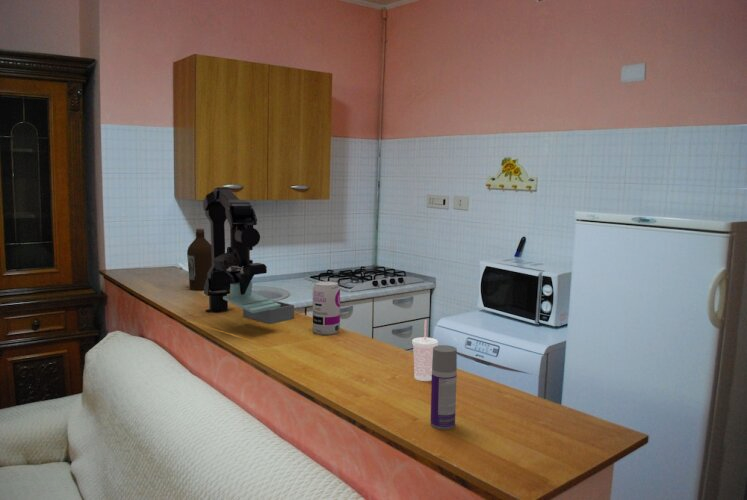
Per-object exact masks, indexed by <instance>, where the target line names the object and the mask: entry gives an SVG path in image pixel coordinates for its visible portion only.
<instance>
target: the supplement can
mask: <svg viewBox="0 0 747 500" xmlns="http://www.w3.org/2000/svg"><path fill="white" fill-rule="evenodd" d="M340 330H341V288H340V285H339V282H338V281H337V282H336V281H330V280H329V281H326V280H324V281H323V280H320V281H316V282H314V285H313V286H312V331H313V332H314V333H315V334H317V335H325V336H328V335H329V336H330V335H335V334H337V333H338V332H339V331H340Z"/></svg>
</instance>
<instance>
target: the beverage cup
mask: <svg viewBox="0 0 747 500" xmlns="http://www.w3.org/2000/svg"><path fill="white" fill-rule="evenodd" d="M427 323H428V321H427V319H424V326H423V327H424V328H423V329H424V332H423V337H415V338H413V339H412V340H411V345H413V347H412V348H413V349H412V350H413V368H414V369H413V370H414V371H413V373H414V375H413V376H414V379H416V381H422V382H429V381H432V359H433V347H435V346H438V345H439V341H438V339H436V338H433V337H428V336H427Z"/></svg>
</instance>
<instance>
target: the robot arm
mask: <svg viewBox="0 0 747 500" xmlns="http://www.w3.org/2000/svg"><path fill="white" fill-rule="evenodd" d="M202 201H203V202H202V207H203V211H204V213H205V217H206V218H207V220H208V221H209V224H210V244H211V251H212V266H211V268H210V269H209V271H208V273H207V279H206V282H205V285H204V291H203V293H204V295H205V296H206V297H208V300H209V301H208V302H209V304H208V306H209V307H208V308H207V309H205V312H207V313H214V314H218V313H222V312H223V313H224V312H229V311H231V310H232V309H230V308H229V306H228V305H229V304H228V303H229V302H228V301H226V300H224V299H223V296H228V295H230V284H233V283H239V282H240V291H241V295H244V294H245V292H246V290H247V288H248V286H249V284H250V282H252V280H253V278H254V277H255V276H256V275H263V274H267V272H268V271H267V269H268V268H267V266H266V264H265V263H261V262H254V261H253V259H251V255H250V254H251V251H253V249H254V247H255V246H257V245H258V244H259V243H260V241H261V235H260V232H259V230H258V229H257V228H254V226H257V224H258V223H257V222H258V218H257V215H256V212H255V209H254V207H253V205H252V203H251V202H250V201H247V200H242V199H239V198H238V197H237V196H236V195H235V194H234V193H233V192H232V188H231V187H228V186H226V187H225V186H217V187H214V188H213V191H211V192H210V193H208V194H206V195H205V197H204V199H203V200H202ZM226 221H227V222H228V225H229V235H230V236H229V238H230V239H229V240H230V241H229V242H230V244H229V245H230V246H227V248H226V236H225V235H226V233H225V231H226V230H225V222H226ZM253 262H254V263H253Z"/></svg>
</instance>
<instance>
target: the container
mask: <svg viewBox="0 0 747 500" xmlns="http://www.w3.org/2000/svg"><path fill="white" fill-rule="evenodd" d="M457 352H458V351H457V347H455V346H452V345H447V344H445V345H444V344H442V345H439V344H438V345H437V346H435V347H433V359H432V380H431V387H430V389H431V391H430V392H431V393H430V394H431V395H430V425H431V427H433V428H434V429H438V430H443V431H445V430H447V431H448V430H451V429H454V428H455V426H456V405H457V404H456V403H457V367H458V366H457V362H458V360H457V359H458V354H457Z"/></svg>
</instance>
